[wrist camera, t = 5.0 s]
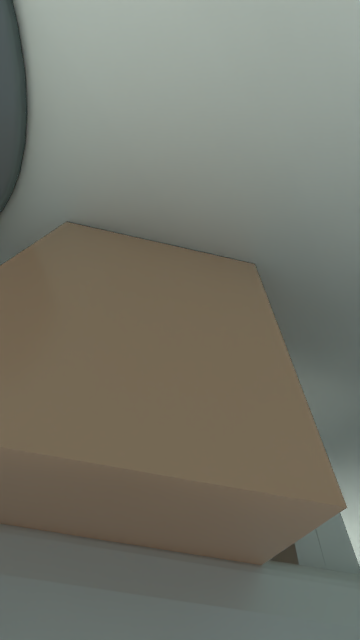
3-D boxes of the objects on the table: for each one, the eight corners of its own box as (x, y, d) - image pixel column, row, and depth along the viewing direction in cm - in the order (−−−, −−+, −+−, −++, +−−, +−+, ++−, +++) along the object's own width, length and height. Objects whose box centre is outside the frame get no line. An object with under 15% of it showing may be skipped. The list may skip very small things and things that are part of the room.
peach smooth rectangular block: (254, 264, 9) (346, 507, 3) (194, 416, 14) (187, 615, 8) (66, 221, 9) (-217, 409, 3) (75, 394, 14) (-19, 585, 8)
